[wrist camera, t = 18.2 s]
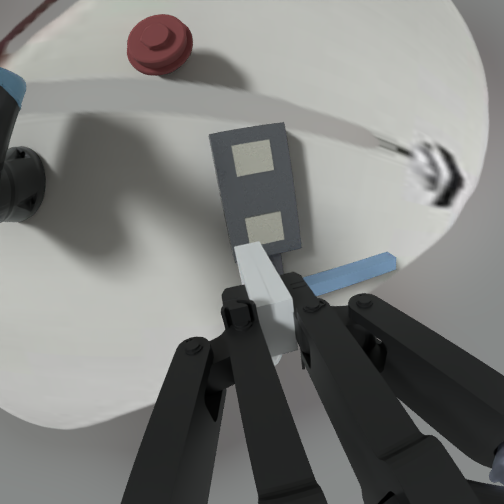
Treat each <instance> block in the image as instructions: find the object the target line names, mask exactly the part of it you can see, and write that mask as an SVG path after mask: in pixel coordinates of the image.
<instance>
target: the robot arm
mask: <svg viewBox="0 0 504 504" xmlns="http://www.w3.org/2000/svg"><path fill="white" fill-rule="evenodd" d="M25 92H26V82H25V80H24V79H23V78H22V77H20V76H19V75H17V74H15V73H13V72H11V71H9V70H6V69H4V68H1V67H0V223H1V222H20V221H23V220H25V219H27V218H29V217H31V216H32V215H33V214H34V213H35V212H36V211H37V210H38V208H39V207H40V205H41V203H42V200H43V197H44V192H45V173H44V168H43V165H42V163H41V161H40V159H39V157H38V156H37V154H36V153H35V152H34V151H33V150H31V149H29V148H27V147H23V146H20V147H12V148H9V149H8V146H9V142H10V138H11V135H12V132H13V128H14V125H15V122H16V119H17V116H18V113H19V111H20V109H21V103H22V100H23V97H24V94H25ZM234 249H235V254H236V259H237V264H238V268H239V273H240V278H241V282H242V285H239V286H235V287H231V288H226V289H225V290H224V291H223V293H222V301H223V307H222V308H221V315H222V318H223V322H224V325H225V331H224V332H223V333H222V334H221V335H220V336H219V337H217V338H215V339H213V340H211V341H208V340H207V339H206V338H203V337H192V338H189V339H186V340H184V341H183V342H182V343H180V344H179V346H178V347H177V349H176V352H175V354H174V357H173V359H172V362H171V364H170V367H169V370H168V372H167V375H166V377H165V380H164V383H163V385H162V388H161V390H160V393H159V396H158V398H157V401H156V404H155V406H154V409H153V412H152V415H151V417H150V420H149V423H148V425H147V428H146V431H145V434H144V436H143V439H142V442H141V445H140V448H139V451H138V454H137V456H136V459H135V462H134V465H133V468H132V471H131V474H130V477H129V480H128V483H127V486H126V489H125V492H124V495H123V498H122V502H121V504H207V503H208V497H209V491H210V485H211V480H212V473H213V468H214V461H215V456H216V449H217V444H218V438H219V432H220V426H221V420H222V414H223V409H224V403H225V396H226V388H227V387H229V386H231V385H233V384H235V386H236V392H237V397H238V402H239V408H240V413H241V418H242V423H243V428H244V433H245V438H246V443H247V447H248V452H249V457H250V461H251V466H252V470H253V475H254V479H255V483H256V488H257V492H258V504H327V501H326V498H325V496H324V493H323V491H322V489H321V487H320V486H319V485H318V484H317V482H316V480H315V477H314V474H313V472H312V469H311V466H310V464H309V461H308V458H307V456H306V453H305V450H304V447H303V445H302V442H301V439H300V437H299V434H298V431H297V428H296V425H295V423H294V420H293V417H292V414H291V412H290V409H289V406H288V403H287V400H286V397H285V395H284V392H283V389H282V386H281V384H280V380H279V378H278V375H277V372H276V369H275V366H274V363H273V360H272V358H271V357H274V356H277V355H281V354H285V353H289V352H292V351H295V350H298V346H297V342H298V344H299V346H300V350H301V360H302V369H305V367H306V369H307V371H308V373H309V375H310V377H311V379H312V381H313V384H314V386H315V388H316V390H317V392H318V395H319V397H320V399H321V401H322V403H323V405H324V408H325V410H326V412H327V414H328V416H329V418H330V421H331V423H332V425H333V427H334V429H335V431H336V434H337V436H338V438H339V440H340V442H341V444H342V446H343V449H344V451H345V453H346V455H347V457H348V460H349V462H350V464H351V466H352V468H353V470H354V473H355V475H356V477H357V479H358V481H359V483H360V486H361V489H362V496H363V501H364V504H504V486H497V485H492V484H486V483H481V482H476V481H472V480H467V479H465V478H464V476H463V474H462V473H461V471H460V470H459V468H458V467H457V466H456V464H455V463H454V461H453V459H452V458H451V456H450V455H449V453H448V452H447V450H446V449H445V447H444V446H443V445H442V443H441V442H440V441H439V440H438V439H437V438H436V437H434V436H433V435H424V434H422V433H421V432H420V431H419V429H418V428H417V427H416V425H415V424H414V422H413V421H412V419H411V418H410V416H409V415H408V413H407V412H406V410H405V409H404V408H403V406H402V405H401V403H400V402H399V400H398V399H400V400H401V401H402V402H403V403H404V404H405V405H407V406H408V407H409V408H410V409H411V410H412V411H414V412H415V413H416V414H417V415H418V416H420V417H421V418H422V419H423V420H424V421H425V422H427V423H428V424H429V425H430V426H431V427H433V428H434V429H435V430H436V431H437V432H439V433H440V434H441V435H442V436H443V437H445V438H446V439H447V440H448V441H449V442H451V443H452V444H453V445H454V446H456V447H457V448H458V449H459V450H460V451H462V452H463V453H464V454H465V455H467V456H468V457H469V458H471V459H472V460H474V461H476V462H478V463H479V464H481V465H483V466H487V467H490V468H492V470H491V472H490V474H489V479H490V480H491V482H494V483H495V482H500V483H502V484H503V485H504V376H503V375H502V374H500V373H499V372H497V371H496V370H494V369H493V368H491V367H489V366H488V365H486V364H485V363H483V362H482V361H480V360H479V359H477V358H475V357H474V356H472V355H470V354H469V353H468V352H466V351H464V350H463V349H461V348H460V347H458V346H456V345H455V344H453V343H452V342H450V341H449V340H447V339H445V338H444V337H442V336H441V335H439V334H437V333H436V332H434V331H433V330H431V329H429V328H428V327H426V326H425V325H423V324H421V323H420V322H418V321H416V320H415V319H413V318H411V317H410V316H408V315H406V314H405V313H403V312H402V311H400V310H398V309H397V308H395V307H393V306H391V305H390V304H388V303H387V302H385V301H383V300H382V299H380V298H378V297H377V296H374V295H372V294H366V293H362V294H357V295H354V296H353V297H351V298H350V300H349V302H348V306H330V305H329V303H328V302H326V301H325V300H323V299H320V298H317V297H316V295H315V294H314V293H313V291H312V290H311V289H310V287H309V286H308V284H307V283H306V282H305V280H304V279H303V278H302V276H301V275H299V274H297V273H295V272H291V273H287V274H283V275H279V274H278V273H277V271H276V269H275V267H274V266H273V264H272V262H271V261H270V259H269V257H268V256H267V254H266V252H265V250H264V249H263V247H262V245H261V244H260V242H259V241H258V242H253V243H249V244H244V245H240V246H235V247H234ZM377 338H378V339H380V340H381V341H382V342H381V341H379V340H378V339H377ZM397 398H398V399H397Z"/></svg>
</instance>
